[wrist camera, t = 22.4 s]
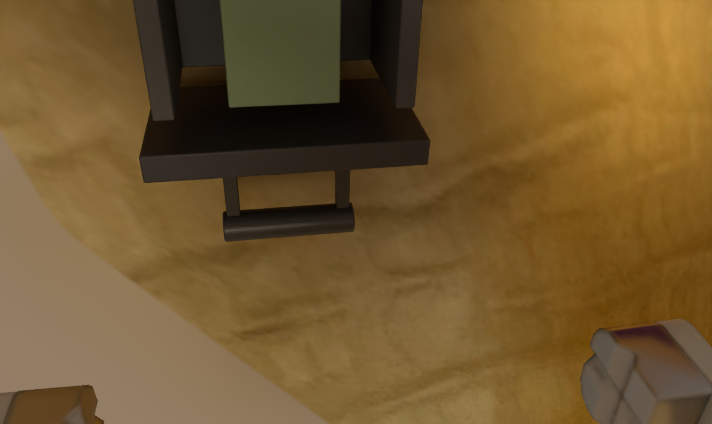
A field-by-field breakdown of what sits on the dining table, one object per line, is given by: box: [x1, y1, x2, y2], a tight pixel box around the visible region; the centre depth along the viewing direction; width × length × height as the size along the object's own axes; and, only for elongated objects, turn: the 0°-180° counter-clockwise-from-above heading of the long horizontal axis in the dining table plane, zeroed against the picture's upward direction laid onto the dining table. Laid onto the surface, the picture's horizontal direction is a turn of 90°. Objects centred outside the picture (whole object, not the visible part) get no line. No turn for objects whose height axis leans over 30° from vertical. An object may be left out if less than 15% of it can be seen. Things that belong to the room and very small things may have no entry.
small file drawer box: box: [133, 0, 430, 242], centre depth 26 cm, size 19×11×7 cm, turn 179°
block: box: [219, 0, 341, 108], centre depth 26 cm, size 4×4×4 cm
